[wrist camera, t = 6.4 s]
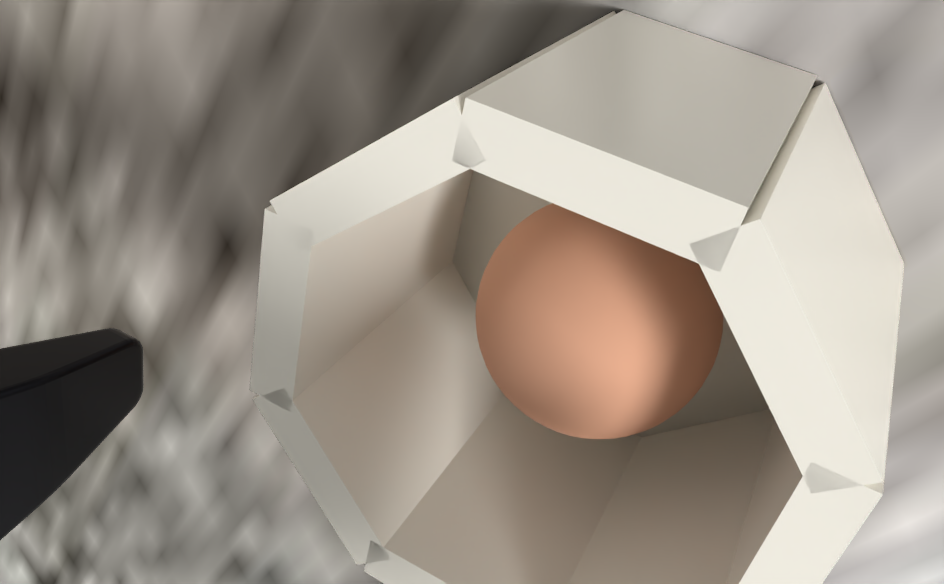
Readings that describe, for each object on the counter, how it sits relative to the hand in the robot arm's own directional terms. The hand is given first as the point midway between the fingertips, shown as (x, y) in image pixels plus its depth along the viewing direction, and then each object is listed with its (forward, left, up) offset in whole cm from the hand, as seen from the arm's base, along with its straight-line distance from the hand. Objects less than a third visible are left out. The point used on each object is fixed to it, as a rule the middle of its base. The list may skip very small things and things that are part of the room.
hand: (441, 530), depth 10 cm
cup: (0, 0, -8) cm, 8 cm away
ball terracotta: (0, 0, -5) cm, 5 cm away
